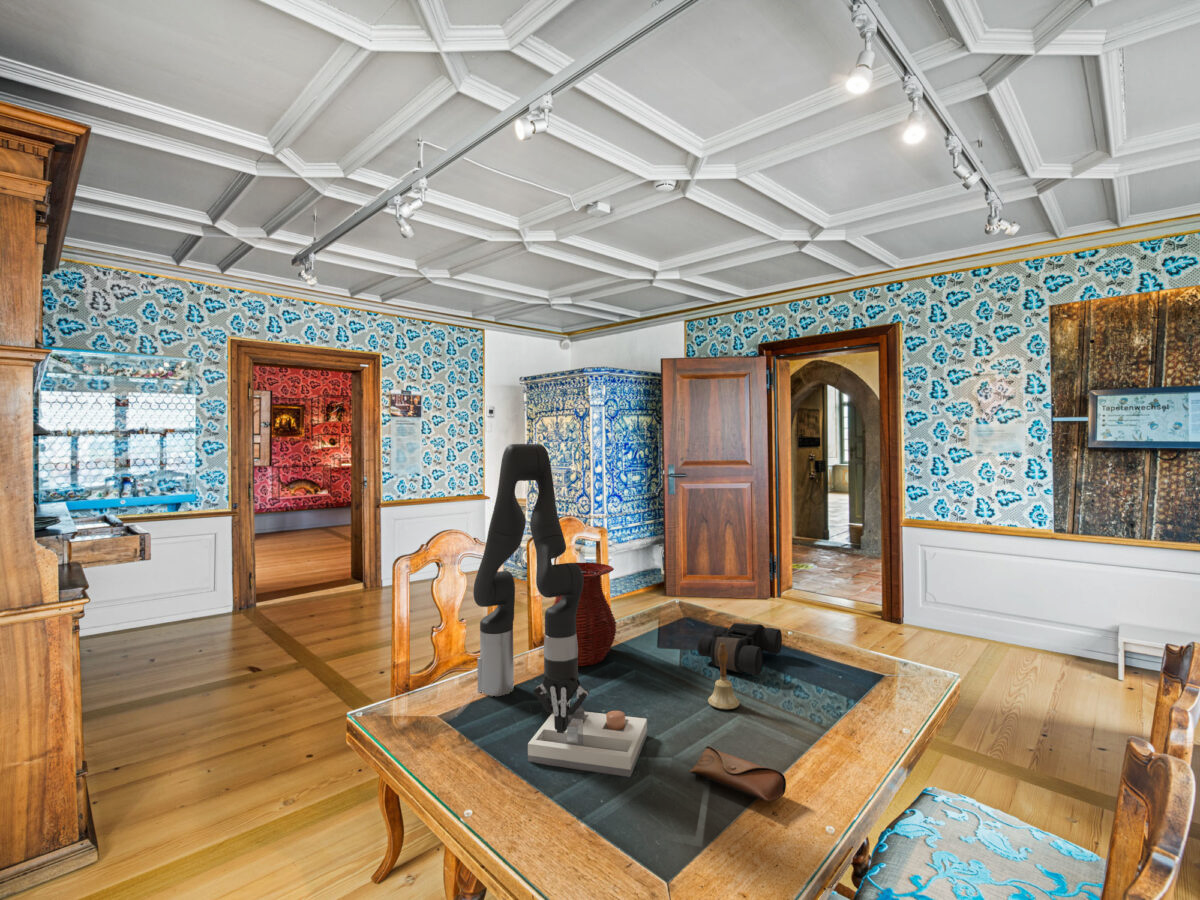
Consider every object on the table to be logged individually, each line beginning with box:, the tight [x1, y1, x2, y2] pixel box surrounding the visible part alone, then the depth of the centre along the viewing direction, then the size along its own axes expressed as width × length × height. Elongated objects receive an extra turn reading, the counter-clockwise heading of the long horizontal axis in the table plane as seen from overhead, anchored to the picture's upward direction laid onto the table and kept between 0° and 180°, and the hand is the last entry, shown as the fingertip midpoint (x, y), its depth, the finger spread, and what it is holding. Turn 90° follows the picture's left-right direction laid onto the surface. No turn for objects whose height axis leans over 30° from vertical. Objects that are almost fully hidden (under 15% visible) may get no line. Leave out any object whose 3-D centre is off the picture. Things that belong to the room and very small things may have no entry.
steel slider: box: [567, 718, 583, 746], centre depth 126 cm, size 2×4×6 cm, turn 164°
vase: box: [552, 562, 618, 667], centre depth 186 cm, size 23×24×30 cm
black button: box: [568, 705, 585, 724], centre depth 136 cm, size 4×4×3 cm
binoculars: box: [697, 622, 783, 676], centre depth 184 cm, size 29×20×10 cm
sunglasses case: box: [688, 746, 787, 803], centre depth 115 cm, size 18×7×7 cm
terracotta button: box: [605, 710, 626, 730], centre depth 133 cm, size 4×4×3 cm
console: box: [527, 711, 648, 778], centre depth 130 cm, size 23×18×4 cm
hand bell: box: [707, 643, 740, 710], centre depth 153 cm, size 8×8×16 cm
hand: (561, 731), depth 127 cm, fingers closed
